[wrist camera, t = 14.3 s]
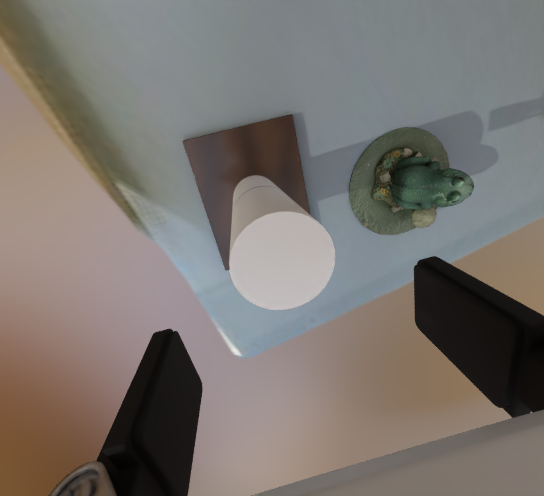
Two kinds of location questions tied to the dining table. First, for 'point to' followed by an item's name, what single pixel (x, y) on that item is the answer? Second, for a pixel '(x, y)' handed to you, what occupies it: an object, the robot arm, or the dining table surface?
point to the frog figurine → (405, 182)
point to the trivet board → (244, 168)
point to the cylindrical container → (276, 247)
